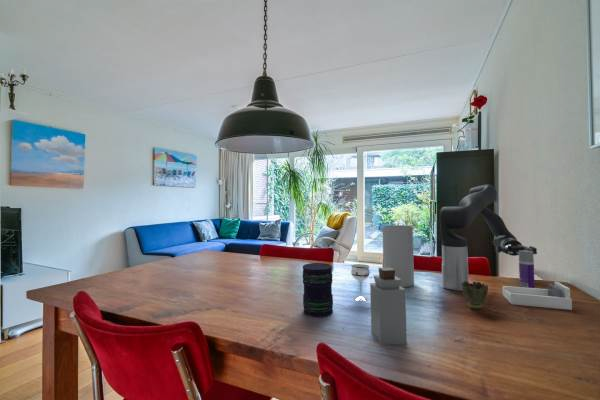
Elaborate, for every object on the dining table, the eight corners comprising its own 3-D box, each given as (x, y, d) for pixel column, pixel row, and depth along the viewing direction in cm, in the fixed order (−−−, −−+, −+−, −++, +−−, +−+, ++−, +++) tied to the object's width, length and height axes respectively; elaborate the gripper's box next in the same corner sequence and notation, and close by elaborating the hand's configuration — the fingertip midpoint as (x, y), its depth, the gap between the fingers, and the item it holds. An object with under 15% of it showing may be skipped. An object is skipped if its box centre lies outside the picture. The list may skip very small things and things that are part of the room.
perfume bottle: (371, 332, 76) (369, 266, 77) (395, 331, 77) (393, 265, 77) (380, 345, 70) (378, 272, 70) (406, 343, 70) (404, 271, 71)
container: (537, 290, 109) (536, 252, 109) (523, 290, 110) (522, 252, 110) (530, 287, 114) (529, 250, 114) (517, 286, 114) (515, 250, 115)
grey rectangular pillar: (416, 281, 124) (415, 225, 125) (410, 289, 114) (409, 227, 114) (388, 278, 131) (386, 224, 131) (380, 285, 120) (378, 227, 121)
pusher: (557, 304, 92) (557, 289, 92) (548, 297, 99) (547, 283, 99) (561, 305, 92) (561, 289, 92) (551, 298, 98) (551, 283, 98)
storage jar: (312, 320, 86) (311, 270, 86) (297, 309, 94) (297, 265, 94) (339, 313, 90) (338, 267, 90) (323, 304, 99) (322, 261, 99)
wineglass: (373, 298, 104) (373, 265, 104) (364, 303, 99) (363, 269, 99) (357, 294, 109) (357, 263, 109) (348, 299, 104) (347, 266, 104)
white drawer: (511, 304, 95) (510, 284, 96) (502, 295, 105) (502, 277, 105) (572, 309, 89) (571, 289, 90) (557, 299, 99) (556, 281, 99)
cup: (485, 305, 95) (484, 281, 95) (492, 313, 88) (491, 287, 88) (460, 303, 97) (459, 280, 97) (465, 310, 90) (464, 286, 90)
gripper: (493, 238, 140) (499, 243, 125) (529, 239, 133) (539, 244, 119) (493, 253, 140) (499, 259, 125) (530, 254, 133) (540, 262, 119)
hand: (519, 252), depth 122 cm, fingers open, 8 cm apart
